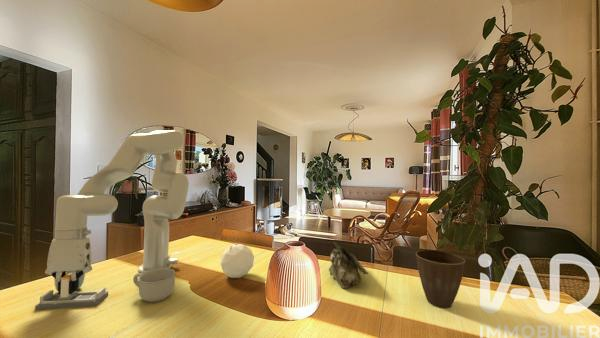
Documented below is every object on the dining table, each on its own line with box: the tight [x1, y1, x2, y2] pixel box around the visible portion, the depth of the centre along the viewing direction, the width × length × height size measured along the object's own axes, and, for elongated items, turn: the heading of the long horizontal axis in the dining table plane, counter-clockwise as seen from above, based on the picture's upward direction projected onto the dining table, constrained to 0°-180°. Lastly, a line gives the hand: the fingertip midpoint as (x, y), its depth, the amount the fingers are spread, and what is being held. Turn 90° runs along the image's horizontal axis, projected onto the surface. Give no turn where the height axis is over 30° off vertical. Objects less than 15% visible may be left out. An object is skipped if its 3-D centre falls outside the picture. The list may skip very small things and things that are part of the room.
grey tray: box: [34, 287, 109, 311], centre depth 81 cm, size 16×7×3 cm, turn 102°
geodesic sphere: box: [220, 242, 255, 279], centre depth 104 cm, size 14×14×14 cm
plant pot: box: [415, 249, 466, 309], centre depth 87 cm, size 15×15×16 cm
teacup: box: [132, 268, 176, 303], centre depth 85 cm, size 14×11×8 cm
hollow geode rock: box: [328, 241, 369, 289], centre depth 108 cm, size 28×13×15 cm
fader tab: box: [58, 273, 79, 301], centre depth 80 cm, size 3×4×7 cm
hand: (68, 291), depth 80 cm, fingers closed on fader tab, 2 cm apart
